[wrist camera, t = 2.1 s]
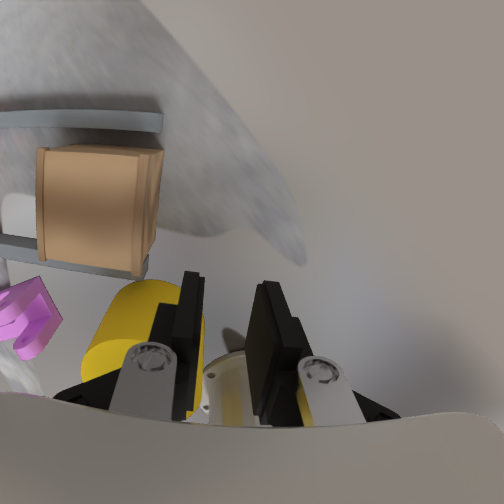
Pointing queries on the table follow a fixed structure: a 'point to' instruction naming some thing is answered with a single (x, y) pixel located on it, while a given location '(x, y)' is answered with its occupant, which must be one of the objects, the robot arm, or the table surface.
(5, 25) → the table surface
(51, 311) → the bracket
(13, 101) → the table surface
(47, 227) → the block
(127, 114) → the bay
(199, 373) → the yellow roll
